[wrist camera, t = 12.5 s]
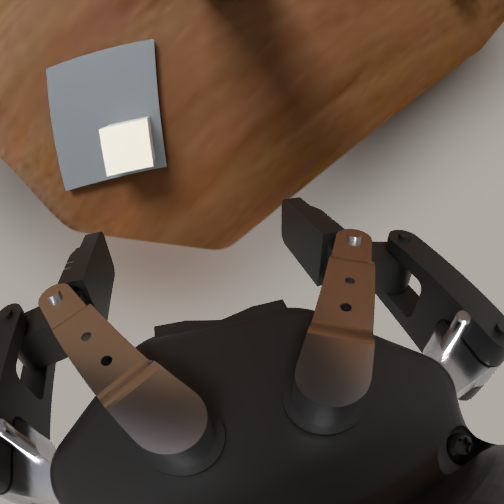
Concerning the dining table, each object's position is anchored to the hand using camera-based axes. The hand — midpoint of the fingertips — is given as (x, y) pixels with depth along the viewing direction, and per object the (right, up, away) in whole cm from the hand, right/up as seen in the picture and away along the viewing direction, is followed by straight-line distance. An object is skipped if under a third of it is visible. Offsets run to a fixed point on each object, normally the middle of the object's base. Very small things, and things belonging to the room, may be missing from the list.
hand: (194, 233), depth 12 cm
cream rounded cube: (-13, +14, +20) cm, 28 cm away
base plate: (-17, +17, +18) cm, 30 cm away
